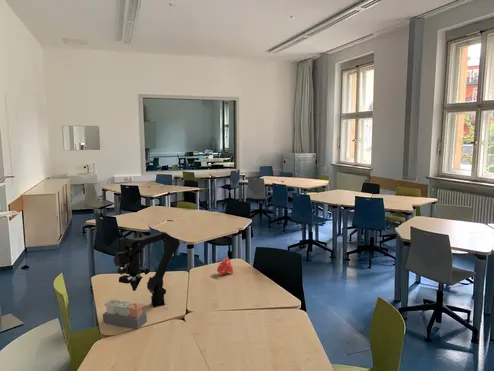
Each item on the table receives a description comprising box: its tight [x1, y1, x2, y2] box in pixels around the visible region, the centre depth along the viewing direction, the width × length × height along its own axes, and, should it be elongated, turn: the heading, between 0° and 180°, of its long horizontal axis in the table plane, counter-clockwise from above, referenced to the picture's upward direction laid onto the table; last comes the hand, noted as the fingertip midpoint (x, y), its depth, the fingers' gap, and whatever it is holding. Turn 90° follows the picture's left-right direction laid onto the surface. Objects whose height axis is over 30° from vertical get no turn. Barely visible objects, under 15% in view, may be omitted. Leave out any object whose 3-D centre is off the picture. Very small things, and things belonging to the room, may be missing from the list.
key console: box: [102, 311, 148, 330], centre depth 192 cm, size 8×21×5 cm, turn 71°
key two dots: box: [116, 300, 133, 316], centre depth 192 cm, size 6×6×7 cm
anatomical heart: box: [216, 256, 234, 276], centre depth 258 cm, size 9×12×12 cm
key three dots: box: [128, 302, 145, 318], centre depth 189 cm, size 6×6×7 cm
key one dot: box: [104, 299, 122, 314], centre depth 194 cm, size 6×6×7 cm
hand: (134, 290), depth 201 cm, fingers closed
